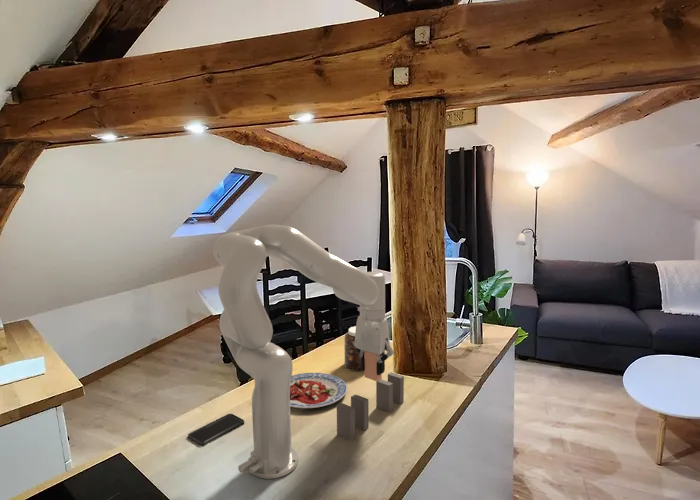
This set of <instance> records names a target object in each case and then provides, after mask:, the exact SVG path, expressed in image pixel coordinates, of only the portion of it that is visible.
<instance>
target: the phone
mask: <svg viewBox="0 0 700 500" xmlns="http://www.w3.org/2000/svg"><path fill="white" fill-rule="evenodd" d="M244 425H245V419H243V418H241V417H239V416H237V415H235V414H234V413H228V414H225V415H223V416H222V417H220V418H218V419H216V420H215V419H214V420H213V421H211V422H209V423H207V424H205V425H203V426H201V427H200V428H197V429H195V430H193V431H191V432H189V433H188V434H187V437H188V439H189V440H191V441H192V442H194V443H195V444H197V445H198V446H199V447H205V446H206V445H209V444H210V443H213V442H214V441H216V440H218V439H219V438H221V437H223V436H225V435H228V434H229V433H231V432H232V431H234V430H236V429H238V428H241V427H242V426H244ZM208 443H209V444H208Z"/></svg>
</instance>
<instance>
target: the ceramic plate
mask: <svg viewBox="0 0 700 500" xmlns="http://www.w3.org/2000/svg"><path fill="white" fill-rule="evenodd" d="M347 391H348V386H347V383H346V382H345V380H343V379H342V378H340V377H338V376H336V375H332V374H330V373H325V372H303V373H296V374H292V377H291V383H290V408H295V409H314V408H315V409H316V408H321V407H326V406H329V405H332V404H335V403H336V402H338V401H340V400H341V399H342V398H344V397H345V395H346V393H347Z"/></svg>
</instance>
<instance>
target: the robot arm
mask: <svg viewBox="0 0 700 500" xmlns="http://www.w3.org/2000/svg"><path fill="white" fill-rule="evenodd" d="M212 252H213V257H214V259H215V260H216V262H218V264H220V265H221V266H223V267H224V268H223V270H222V273H221V276H220V278H219V283H218V296H219V299H220V302H221V305H222V307H223V311H222V312H221V314H220V317H219V330H220V332H221V335H222V337H223V339H224V341H225V343H226V345H227V347H228V349H229V351H230V353H231V355H232V357H233V359H234V361H235V362H236V365H238V367H239V368H240V369H241V370H242V371H244V373H246V374H247V375H249V376H250V377H252V379H253V381H254V387H253V390H252V395H251V413H252V414H251V415H252V434H253V435H252V437H253V450H251V451H250V457H249V458H248V459H247V460H246V461H243V463H241V464H239V465H238V466H237V469H238V472H239V473H240V474H243V473H245V472H246V471H248V470H249V474H251V475H254V476H255V477H257V478H260V479H265V480H266V479H267V480H271V479H276V478H277V479H278V478H282V477H284V476H286V475H288V474H289V473H291V472H292V471H294V470H295V468H297V465H298V462H299V455H298V453H297V451H296V450H295V449H294V448H293V447H292V420H291V417H292V416H291V407H290V383H291V377H292V375H293V371H294V370H293V360H292V359H291V356H290V354H288V352H287V351H286V350H284V349H283V348H282V347H280V346H279V345H276V344H275V343H273V342H271V340H272V338H273V334H274V333H273V332H274V329H273V324H272V322H271V319H270V317H269V314H268V313H267V311H266V308H265V305H264V303H263V301H262V300H261V297H260V294H259V292H258V288H257V282H258V278H259V275H260V273H261V271H262V269H263V267H264V265H265V263H266V261H267V257H271V258H275V259H277V260H280V261H282V262H283V263H284V264H286V265H288V266H290V267H291V268H293V269H295V270H296V271H298V272H299V273H300V274H302V275H304V276H305V277H306V278H308V279H310V280H312V281H314V282H315V283H317V284H321V285H324V286H327V287H330V288H331V289H332V290H333V293H334V295H335V296H336V297H337V298H339V299H340V300H343V301H345V302H349V303H352V304H356V305H359V306H358V307H357V311H358V312H359V315H358V316H357V319H356V325H355V326H356V331H355V341H354V342H353V345H354V346H355V348H357V351H358V352H359V356H360V357H361V365H362V370H365V358H364V351H367V352H370V353H374V354H377V358H378V362H377V375H380V374H383V373H385V370H386V367H385V365H386V364H385V363H386V361H387V359H389V358H391V356H393V355H394V354H395V351H394V350H393V348H392V347H391V344H390V331H389V328H390V327H389V324H388V323H389V322H388V319H387V318H386V278H385V274H383V273H382V272H379V271H365V272H363V271H362V270H360V269H359V268H357V267H355V266H353V265H351V264H350V263H348V262H346V261H344V260H343V259H341V258H339V257H338V256H336V255H334V254H332V253H330V252H329V251H327V250H325V249H324V248H323V247H321V246H320V245H318V244H317V243H315V241H313V240H312V239H310V238H309V237H308V236H307V235H305V234H304V233H302V232H301V231H299V230H298V229H296V228H294V227H292V226H289V225H282V224H280V225H279V224H271V223H270V224H266V225H265V224H264V225H261V226H256V227H250V228H247V229H242V230H237V231H231V232H227V233H225V234H222V235H220V237H218V239H216V241H215V243H214V244H213V250H212ZM381 355H382V357H381Z"/></svg>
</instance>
